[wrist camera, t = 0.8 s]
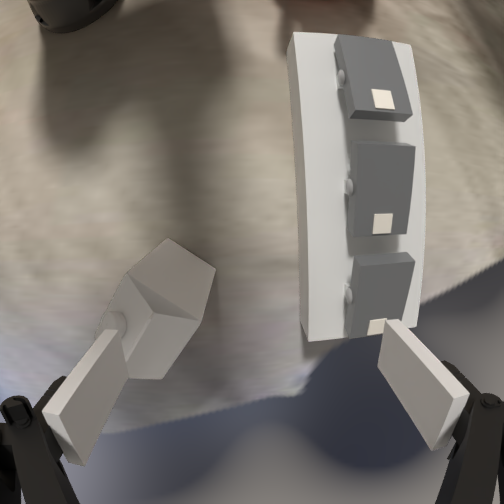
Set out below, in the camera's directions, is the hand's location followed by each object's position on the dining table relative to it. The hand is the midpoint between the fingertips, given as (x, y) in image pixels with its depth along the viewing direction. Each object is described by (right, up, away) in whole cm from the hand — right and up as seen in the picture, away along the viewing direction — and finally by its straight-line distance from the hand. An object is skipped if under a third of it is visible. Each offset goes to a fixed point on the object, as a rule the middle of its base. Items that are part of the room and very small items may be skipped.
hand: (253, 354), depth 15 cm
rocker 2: (+13, +1, +17) cm, 22 cm away
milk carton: (-9, +2, +25) cm, 27 cm away
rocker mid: (+12, +11, +15) cm, 22 cm away
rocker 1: (+12, +22, +12) cm, 28 cm away
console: (+12, +13, +22) cm, 29 cm away
